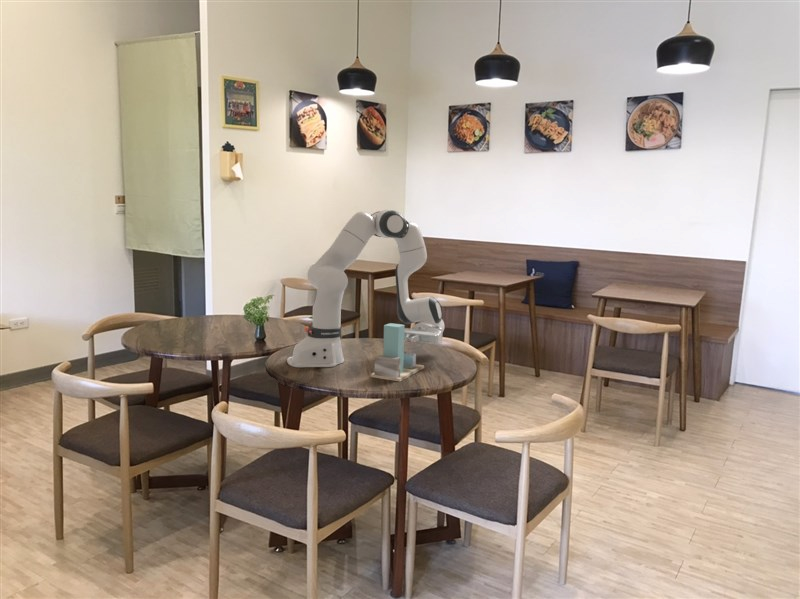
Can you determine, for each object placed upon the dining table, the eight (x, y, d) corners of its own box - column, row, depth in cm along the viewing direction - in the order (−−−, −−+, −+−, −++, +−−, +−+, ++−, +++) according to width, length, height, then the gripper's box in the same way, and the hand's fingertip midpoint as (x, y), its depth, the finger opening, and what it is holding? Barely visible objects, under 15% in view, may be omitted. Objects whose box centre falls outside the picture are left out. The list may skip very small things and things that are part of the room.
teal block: (388, 369, 242) (390, 323, 239) (403, 371, 240) (404, 324, 237) (382, 372, 238) (383, 325, 235) (397, 375, 235) (398, 327, 232)
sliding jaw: (394, 363, 250) (394, 350, 249) (415, 366, 246) (416, 353, 245) (391, 365, 247) (391, 352, 246) (412, 368, 243) (412, 355, 243)
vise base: (396, 363, 255) (397, 344, 254) (424, 367, 250) (424, 347, 249) (370, 376, 236) (371, 355, 234) (400, 381, 231) (400, 360, 229)
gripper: (399, 322, 265) (384, 328, 252) (445, 327, 256) (432, 334, 244) (399, 337, 266) (384, 344, 253) (445, 343, 257) (432, 350, 245)
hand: (408, 339), depth 248 cm, fingers closed
